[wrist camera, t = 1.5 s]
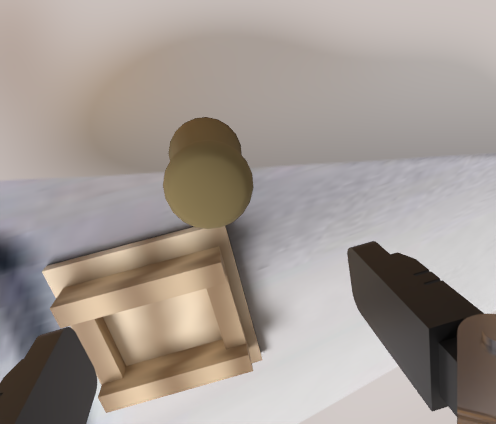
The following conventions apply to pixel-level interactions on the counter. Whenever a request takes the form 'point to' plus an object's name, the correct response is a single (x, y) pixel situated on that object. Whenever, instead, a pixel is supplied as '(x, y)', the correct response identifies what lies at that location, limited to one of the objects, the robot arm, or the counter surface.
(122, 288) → the cradle
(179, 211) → the olive pepper mill
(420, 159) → the counter surface
